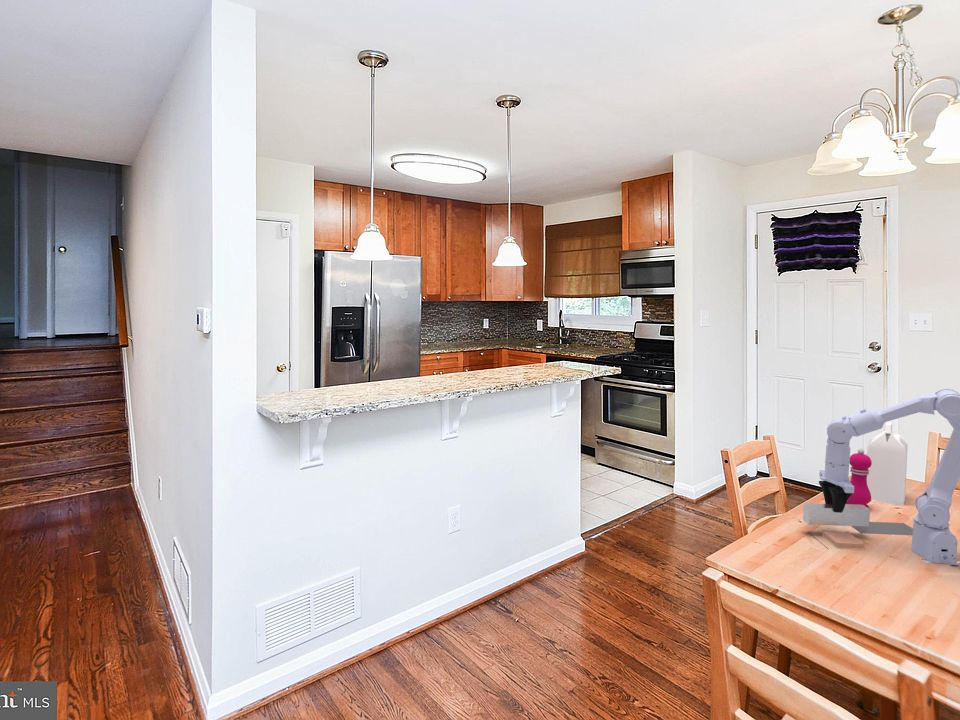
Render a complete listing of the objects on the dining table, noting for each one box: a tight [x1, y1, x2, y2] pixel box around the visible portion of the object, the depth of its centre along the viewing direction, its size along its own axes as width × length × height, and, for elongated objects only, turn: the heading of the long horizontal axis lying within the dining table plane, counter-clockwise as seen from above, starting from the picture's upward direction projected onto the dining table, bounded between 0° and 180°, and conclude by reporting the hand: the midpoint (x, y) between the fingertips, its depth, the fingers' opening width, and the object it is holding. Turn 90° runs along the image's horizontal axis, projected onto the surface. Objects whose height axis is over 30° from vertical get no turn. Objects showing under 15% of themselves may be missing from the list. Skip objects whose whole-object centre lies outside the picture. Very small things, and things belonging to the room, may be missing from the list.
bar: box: [802, 502, 871, 527], centre depth 157 cm, size 4×16×5 cm, turn 84°
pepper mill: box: [846, 448, 872, 509], centre depth 178 cm, size 7×7×20 cm
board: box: [850, 521, 913, 536], centre depth 162 cm, size 9×17×1 cm, turn 84°
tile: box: [821, 530, 866, 550], centre depth 153 cm, size 2×7×8 cm
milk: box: [866, 421, 908, 507], centre depth 188 cm, size 12×12×26 cm
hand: (834, 509), depth 157 cm, fingers closed on bar, 3 cm apart
